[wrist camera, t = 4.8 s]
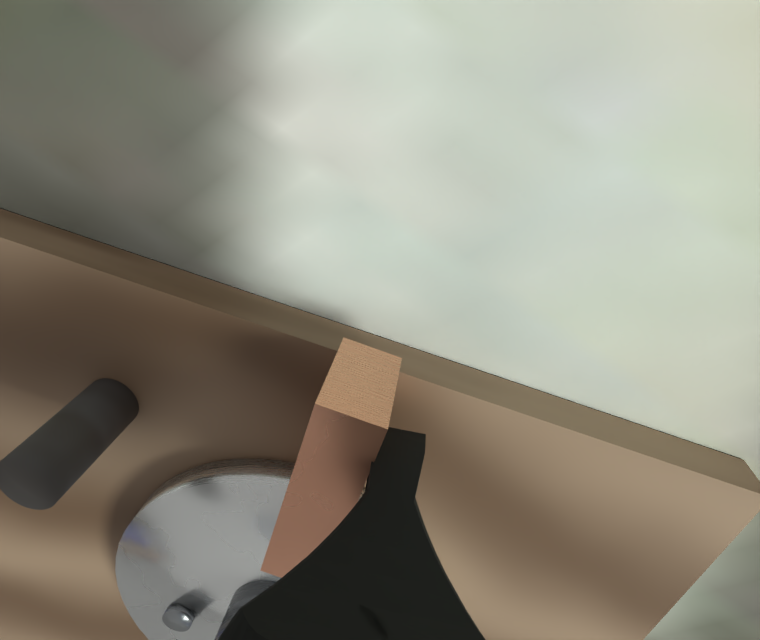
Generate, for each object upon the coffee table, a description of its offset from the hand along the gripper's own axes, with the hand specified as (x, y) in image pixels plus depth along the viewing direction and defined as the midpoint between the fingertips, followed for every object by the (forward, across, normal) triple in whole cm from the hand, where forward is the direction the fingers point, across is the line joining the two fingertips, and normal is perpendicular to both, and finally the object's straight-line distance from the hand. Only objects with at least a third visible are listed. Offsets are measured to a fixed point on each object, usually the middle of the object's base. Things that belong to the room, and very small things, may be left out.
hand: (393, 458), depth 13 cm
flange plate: (+1, +2, +5) cm, 6 cm away
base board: (+3, +3, +7) cm, 8 cm away
